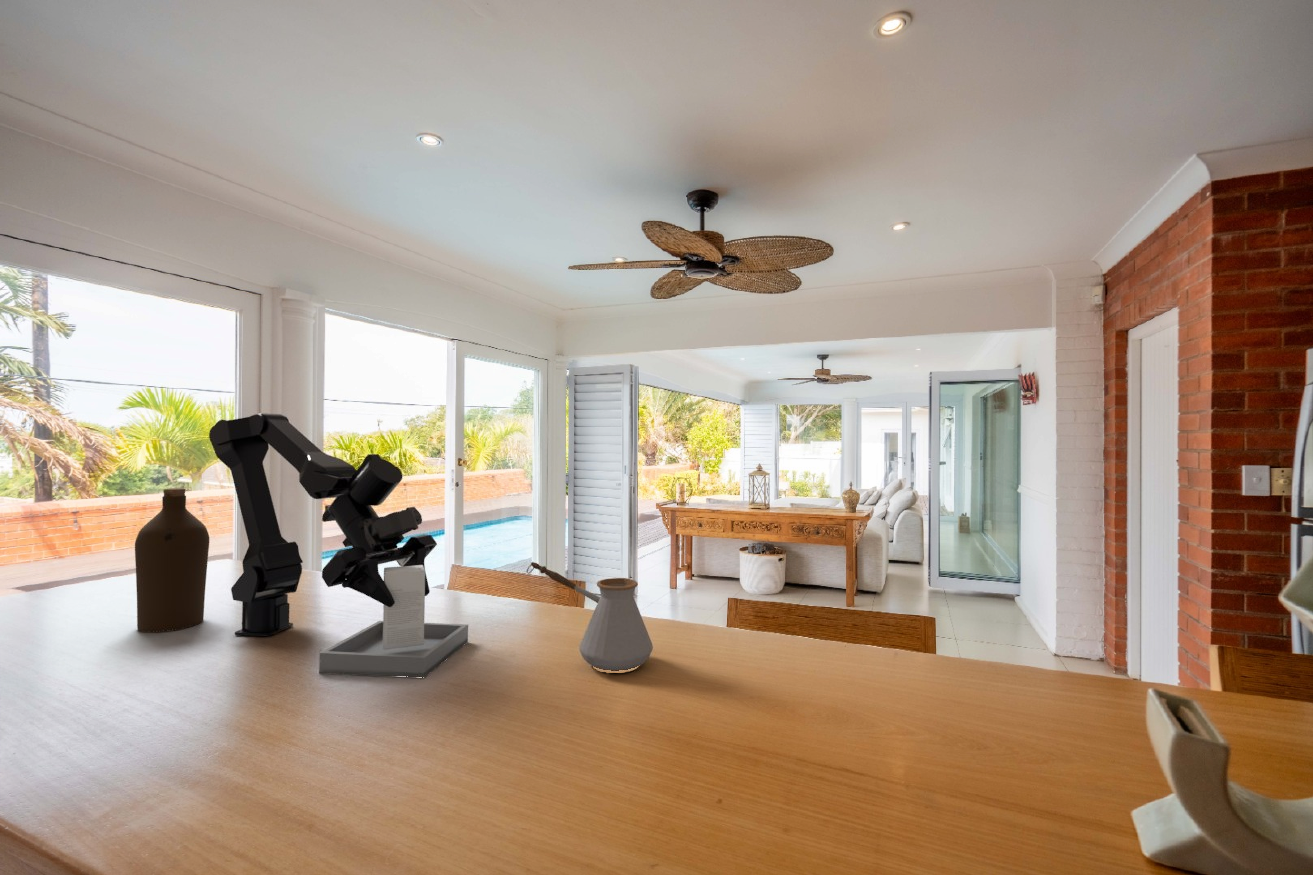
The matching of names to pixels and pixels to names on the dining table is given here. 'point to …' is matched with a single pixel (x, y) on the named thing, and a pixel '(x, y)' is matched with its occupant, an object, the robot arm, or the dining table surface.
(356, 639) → the tray
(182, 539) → the olive oil
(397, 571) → the skincare box
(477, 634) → the dining table surface
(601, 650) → the coffee pot
